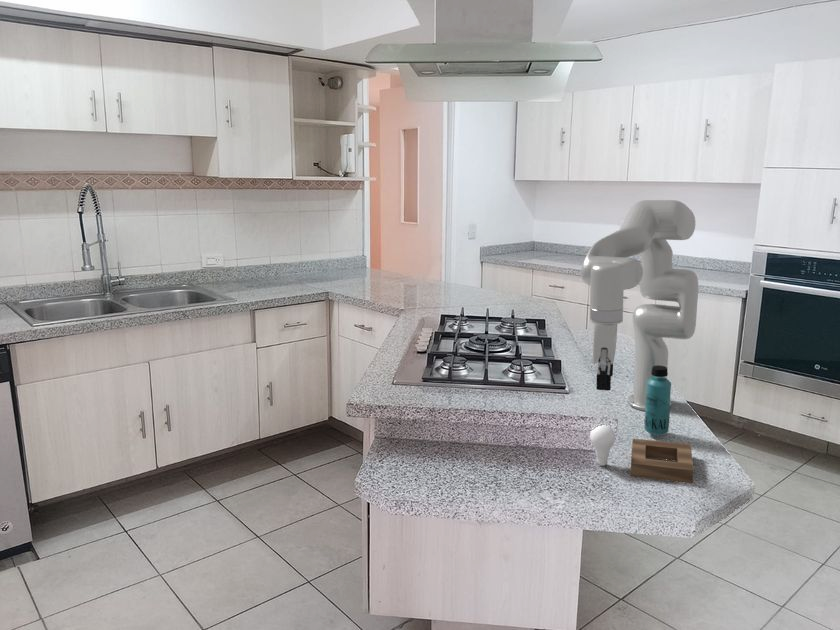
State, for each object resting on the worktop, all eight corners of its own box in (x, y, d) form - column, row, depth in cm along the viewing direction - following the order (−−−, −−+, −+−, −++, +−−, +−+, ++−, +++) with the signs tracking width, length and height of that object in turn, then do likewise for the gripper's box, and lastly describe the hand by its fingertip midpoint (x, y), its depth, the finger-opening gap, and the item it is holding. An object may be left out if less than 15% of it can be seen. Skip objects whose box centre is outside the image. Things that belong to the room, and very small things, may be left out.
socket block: (632, 450, 168) (632, 438, 167) (689, 456, 163) (690, 444, 162) (630, 476, 155) (630, 463, 154) (692, 483, 150) (693, 470, 149)
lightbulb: (617, 462, 162) (618, 422, 159) (611, 473, 157) (612, 432, 154) (593, 457, 165) (594, 418, 162) (586, 468, 160) (587, 428, 157)
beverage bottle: (648, 428, 180) (651, 361, 175) (672, 433, 176) (676, 365, 171) (640, 436, 175) (642, 368, 170) (664, 442, 171) (667, 372, 166)
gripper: (592, 305, 160) (591, 369, 164) (586, 323, 144) (585, 394, 148) (624, 306, 157) (622, 371, 162) (621, 325, 142) (619, 396, 146)
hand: (604, 382), depth 155 cm, fingers open, 9 cm apart
